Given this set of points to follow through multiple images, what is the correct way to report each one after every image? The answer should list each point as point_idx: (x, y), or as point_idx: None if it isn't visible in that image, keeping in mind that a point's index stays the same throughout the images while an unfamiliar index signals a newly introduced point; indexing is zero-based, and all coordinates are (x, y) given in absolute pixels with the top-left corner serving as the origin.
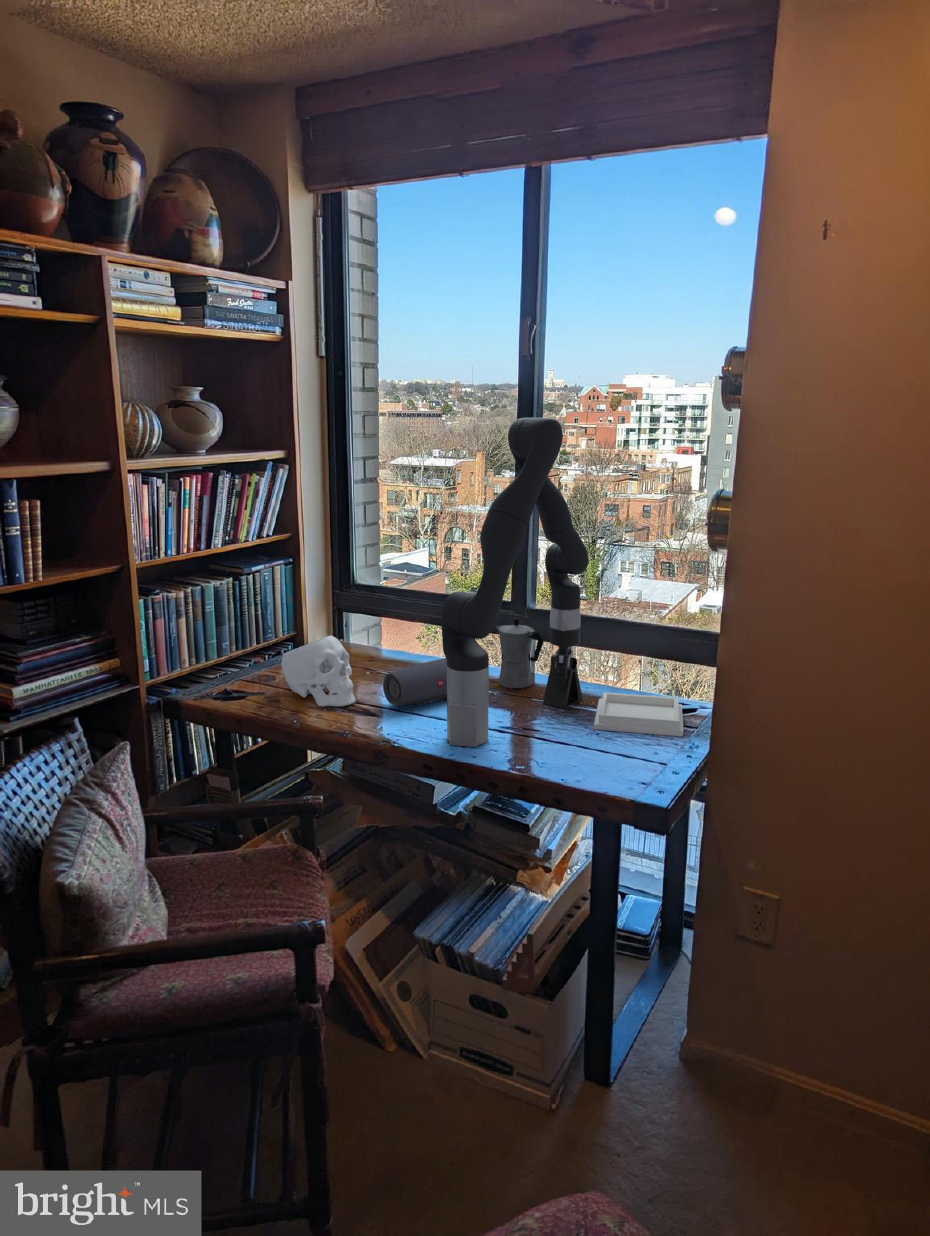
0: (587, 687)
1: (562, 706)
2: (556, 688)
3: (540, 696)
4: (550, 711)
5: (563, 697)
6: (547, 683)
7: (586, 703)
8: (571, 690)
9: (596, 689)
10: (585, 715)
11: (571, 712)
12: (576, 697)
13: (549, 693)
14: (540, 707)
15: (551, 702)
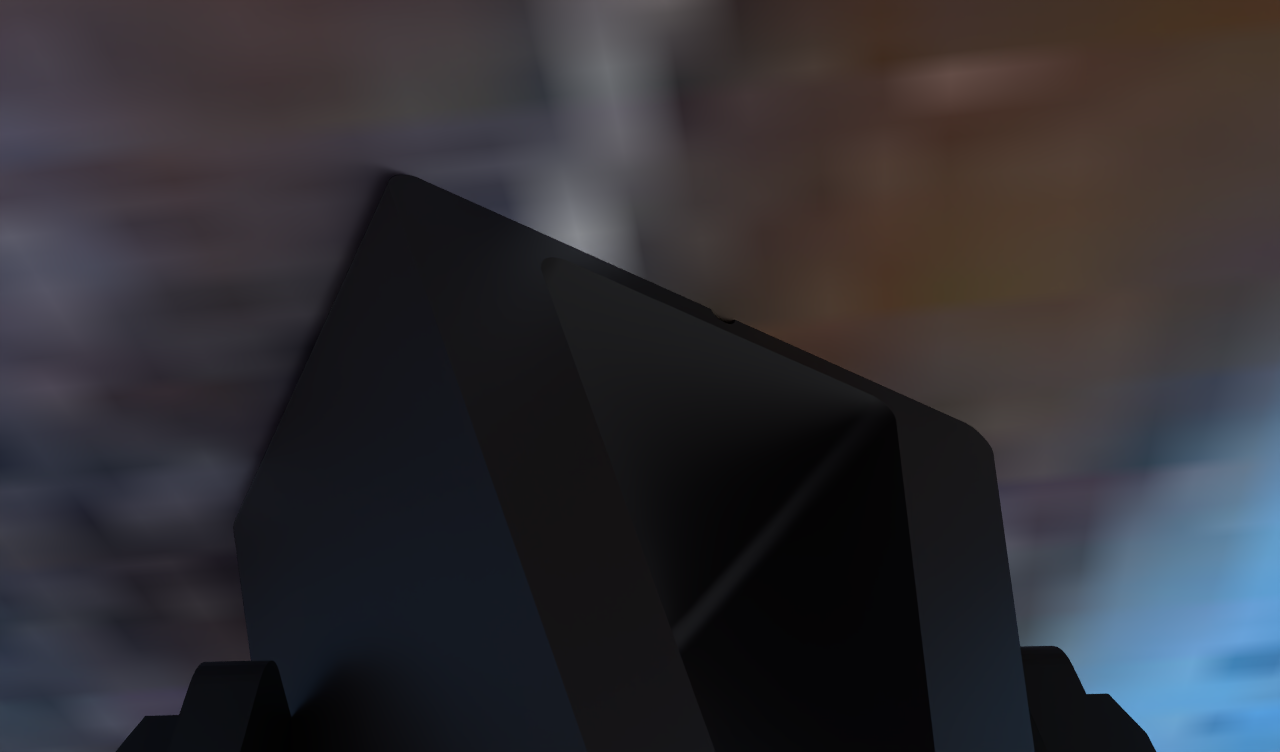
0: (1272, 665)
1: (242, 527)
2: (360, 666)
3: (877, 61)
4: (17, 345)
5: (268, 655)
6: (502, 538)
7: None
8: (717, 707)
9: (1167, 742)
10: (123, 740)
11: (151, 609)
12: (685, 663)
13: (389, 432)
14: (149, 141)
15: (323, 371)
